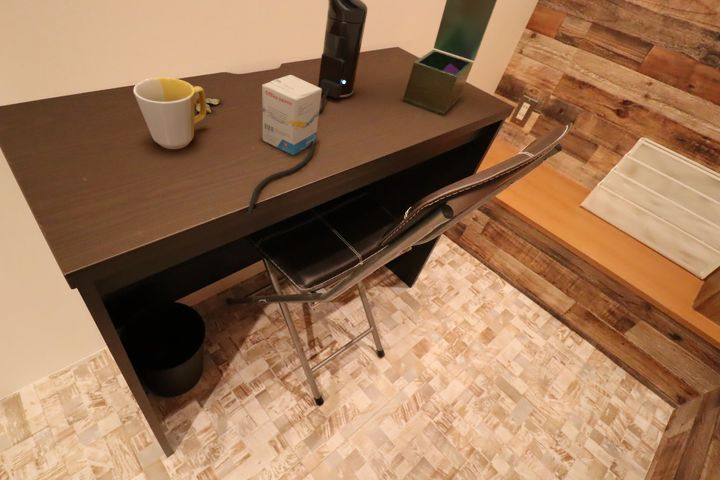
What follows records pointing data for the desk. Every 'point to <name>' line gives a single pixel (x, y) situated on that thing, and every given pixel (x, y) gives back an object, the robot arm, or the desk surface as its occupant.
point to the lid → (464, 26)
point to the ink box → (290, 113)
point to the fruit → (208, 100)
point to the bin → (436, 82)
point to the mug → (170, 109)
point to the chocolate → (451, 69)
